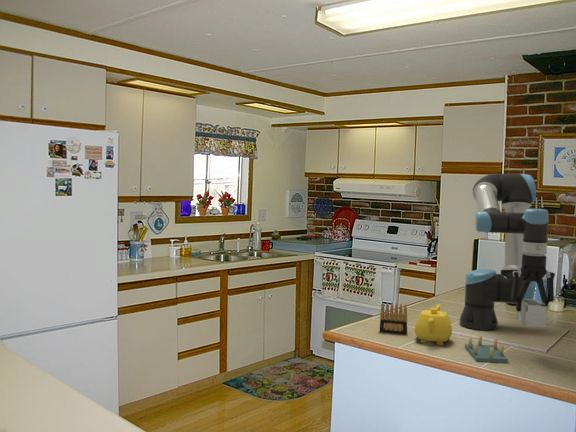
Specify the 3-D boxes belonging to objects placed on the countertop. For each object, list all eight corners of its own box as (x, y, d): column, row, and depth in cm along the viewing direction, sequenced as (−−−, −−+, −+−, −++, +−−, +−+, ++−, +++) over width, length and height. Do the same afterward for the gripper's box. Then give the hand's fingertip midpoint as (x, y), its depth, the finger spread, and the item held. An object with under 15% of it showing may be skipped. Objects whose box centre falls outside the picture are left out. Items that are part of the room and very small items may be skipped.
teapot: (454, 335, 210) (456, 304, 209) (448, 350, 192) (449, 316, 191) (420, 331, 215) (421, 300, 215) (410, 345, 197) (411, 311, 196)
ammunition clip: (407, 333, 212) (408, 303, 211) (406, 334, 210) (407, 304, 209) (379, 331, 215) (380, 301, 214) (379, 332, 213) (380, 302, 212)
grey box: (517, 318, 190) (517, 298, 190) (534, 318, 190) (535, 299, 189) (527, 326, 180) (528, 305, 179) (545, 327, 179) (546, 306, 178)
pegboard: (464, 347, 195) (465, 334, 195) (494, 348, 195) (494, 335, 194) (476, 361, 181) (476, 347, 180) (507, 362, 180) (508, 348, 179)
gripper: (509, 255, 180) (506, 323, 182) (568, 256, 179) (564, 324, 180) (501, 252, 187) (498, 317, 189) (558, 253, 186) (554, 318, 188)
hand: (530, 320), depth 185 cm, fingers closed on grey box, 6 cm apart
